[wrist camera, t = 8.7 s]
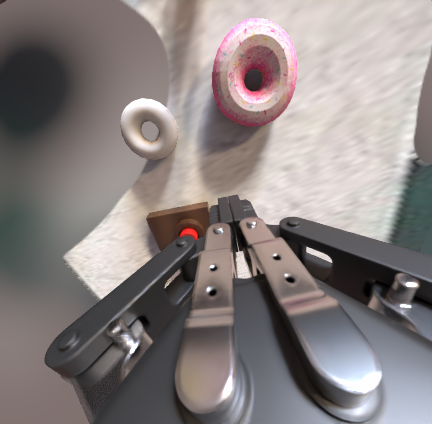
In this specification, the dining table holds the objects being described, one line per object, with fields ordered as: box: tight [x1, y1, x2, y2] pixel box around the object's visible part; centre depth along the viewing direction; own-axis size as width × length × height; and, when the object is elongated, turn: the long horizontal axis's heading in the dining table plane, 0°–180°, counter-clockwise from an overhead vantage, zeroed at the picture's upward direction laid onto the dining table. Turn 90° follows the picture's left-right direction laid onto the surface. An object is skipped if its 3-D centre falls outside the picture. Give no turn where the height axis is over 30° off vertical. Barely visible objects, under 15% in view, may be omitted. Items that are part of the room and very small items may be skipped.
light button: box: [180, 228, 198, 240], centre depth 39 cm, size 4×4×2 cm
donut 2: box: [212, 18, 297, 127], centre depth 28 cm, size 14×13×5 cm
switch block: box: [146, 202, 210, 251], centre depth 41 cm, size 14×11×4 cm
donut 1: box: [120, 99, 178, 160], centre depth 31 cm, size 10×4×10 cm
